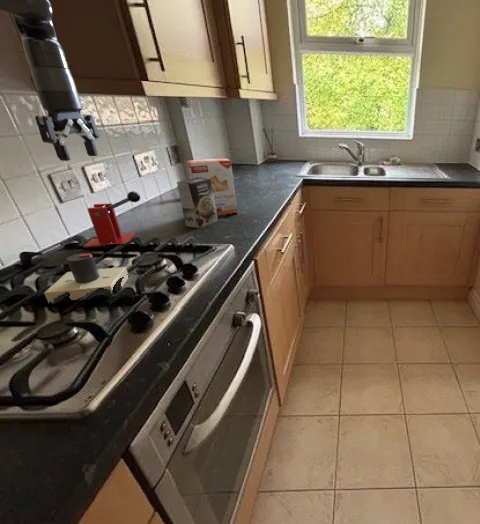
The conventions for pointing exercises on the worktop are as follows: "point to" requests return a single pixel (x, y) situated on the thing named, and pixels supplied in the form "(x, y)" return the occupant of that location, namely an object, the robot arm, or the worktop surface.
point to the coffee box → (197, 202)
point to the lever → (125, 200)
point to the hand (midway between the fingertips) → (79, 158)
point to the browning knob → (83, 267)
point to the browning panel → (81, 289)
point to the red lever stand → (106, 227)
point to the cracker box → (217, 182)
